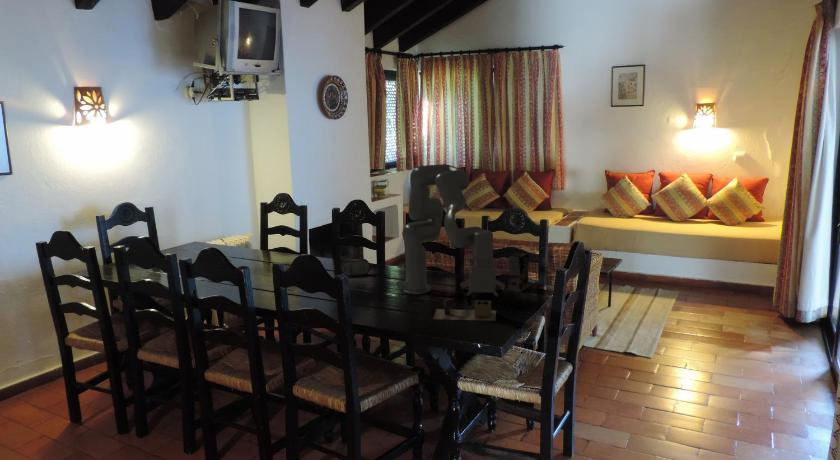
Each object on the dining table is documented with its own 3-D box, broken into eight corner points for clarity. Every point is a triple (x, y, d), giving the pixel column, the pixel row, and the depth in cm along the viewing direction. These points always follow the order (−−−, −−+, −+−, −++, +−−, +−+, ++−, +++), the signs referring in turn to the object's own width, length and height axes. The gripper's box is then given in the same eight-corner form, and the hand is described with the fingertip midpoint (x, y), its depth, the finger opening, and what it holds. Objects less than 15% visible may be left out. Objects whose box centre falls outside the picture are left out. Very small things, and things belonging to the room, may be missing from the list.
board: (433, 321, 233) (432, 305, 231) (436, 311, 244) (436, 295, 243) (495, 323, 229) (495, 306, 228) (495, 313, 241) (496, 297, 240)
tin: (369, 273, 305) (369, 257, 304) (371, 275, 302) (370, 258, 301) (340, 276, 301) (339, 259, 300) (341, 277, 298) (340, 261, 297)
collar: (474, 317, 233) (474, 305, 232) (475, 312, 239) (475, 300, 238) (491, 318, 232) (491, 305, 231) (491, 312, 238) (491, 300, 237)
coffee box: (521, 292, 268) (521, 257, 265) (507, 290, 272) (508, 255, 269) (528, 287, 276) (529, 253, 273) (515, 285, 279) (516, 251, 276)
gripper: (459, 264, 229) (459, 307, 233) (505, 265, 227) (504, 308, 231) (461, 259, 237) (460, 301, 240) (505, 260, 234) (504, 302, 238)
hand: (482, 304), depth 235 cm, fingers open, 9 cm apart
